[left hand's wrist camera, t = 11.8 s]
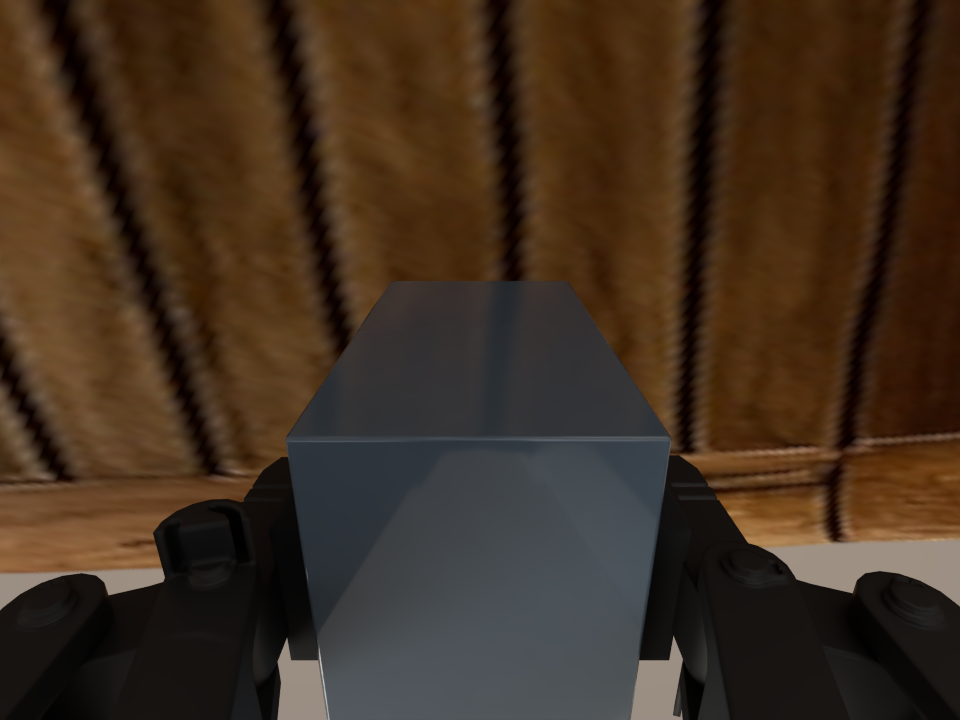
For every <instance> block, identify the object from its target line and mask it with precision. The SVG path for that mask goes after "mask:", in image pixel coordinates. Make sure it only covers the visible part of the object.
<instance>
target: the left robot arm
mask: <svg viewBox="0 0 960 720" xmlns="http://www.w3.org/2000/svg"><path fill="white" fill-rule="evenodd" d="M153 535H154V538H155V542H156V546H157V550H158V553H159V557H160V561H161V564H162V568H163V572H164V575H165V579H164V582H162V583H159V584H155V585H152V586H148V587H144V588H140V589H135V590H130V591H126V592H122V593H117V594H113V595H108V593H107V590H106V587H105V583H104V582H103V581H102V580H101V579H99V578H98V577H97V576H95V575H89V574H82V573H81V574H73V575H66V576H61V577H58V578H55V579H52V580H49V581H46V582H43V583H41V584H39V585H37V586H35V587H33V588H31V589H29V590H27V591H25V592H24V593H22V594H20V595H19V596H17V597H16V598H15V599H14V600H12V601H11V602H10V603H9V604H7V605H6V606H5V607H3V608H2V609H1V610H0V720H277V718H278V707H279V697H280V687H281V680H280V674H279V668H278V662H277V661H278V659H279V656H280V654H281V651H282V649H283V646H284V644H285V641H286V639H288V644H289V650H290V656H291V660H318V655H317V648H316V641H315V634H314V628H313V621H312V614H311V608H310V601H309V594H308V588H307V581H306V574H305V567H304V561H303V554H302V547H301V541H300V534H299V527H298V520H297V514H296V507H295V500H294V494H293V487H292V480H291V474H290V467H289V460H288V457H281V458H280V459H278V460H277V461H275V462H274V463H273V464H271V465H270V466H269V467H267V468H266V469H264V470H263V471H262V473H261V474H260V476H259V477H258V479H257V480H256V482H255V483H254V485H253V489H250V491H249V492H248V494H247V495H246V497H245V498H244V502H238V501H234V500H230V499H215V500H208V501H203V502H199V503H195V504H192V505H190V506H187V507H185V508H183V509H181V510H178V511H176V512H175V513H173V514H172V515H170V516H169V517H168V518H166V519H165V520H163V521H162V522H161V523H160V525H159V526H158V527H157V529H156V530H155V531H154V532H153ZM673 635H674V638H675V640H676V643H677V645H678V648H679V650H680V653H681V655H682V658H683V662H682V668H681V673H680V678H679V684H678V689H677V694H676V700H675V706H674V712H673V715H674V716H678V717H680V715H681V710H682V716H683V720H960V606H958V605H957V604H956V603H955V602H953V601H952V600H951V599H950V598H948V597H947V596H946V595H944V594H943V593H942V592H940V591H938V590H936V589H935V588H933V587H931V586H929V585H927V584H925V583H923V582H921V581H919V580H916V579H913V578H910V577H908V576H904V575H901V574H897V573H890V572H882V571H878V572H871V573H865V574H864V575H863V576H862V577H860V578H859V579H858V580H857V582H856V585H855V588H854V591H853V593H849V592H844V591H839V590H835V589H831V588H827V587H822V586H818V585H813V584H809V583H806V582H803V581H799V580H796V578H795V576H794V575H793V573H792V572H791V570H790V569H789V567H788V566H787V565H786V564H785V563H784V562H783V561H782V560H780V559H779V558H778V557H777V556H775V555H774V554H773V553H771V552H769V551H767V550H765V549H763V548H761V547H759V546H756V545H752V544H749V543H748V542H747V541H746V539H745V538H744V536H743V535H742V534H741V532H740V531H739V529H738V528H737V526H736V525H735V523H734V522H733V520H732V519H731V517H730V516H729V514H728V513H727V511H726V510H725V508H724V507H723V505H722V504H721V503H720V501H719V500H717V497H716V495H715V494H714V492H713V491H712V489H711V488H710V487H708V483H707V482H706V480H705V479H704V477H703V476H702V475H701V473H700V472H699V470H698V469H697V468H696V467H694V466H693V465H692V464H690V463H689V462H687V461H686V460H685V459H683V458H682V457H680V456H679V455H669V461H668V468H667V474H666V481H665V488H664V495H663V502H662V508H661V515H660V522H659V529H658V536H657V542H656V549H655V556H654V563H653V570H652V576H651V583H650V590H649V597H648V604H647V610H646V617H645V624H644V631H643V638H642V644H641V651H640V658H639V660H669V658H670V652H671V646H672V641H673Z"/></svg>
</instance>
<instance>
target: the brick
mask: <svg viewBox="0 0 960 720" xmlns="http://www.w3.org/2000/svg"><path fill="white" fill-rule="evenodd" d="M286 447H287V453H288V460H289V467H290V474H291V480H292V487H293V494H294V500H295V507H296V514H297V520H298V527H299V534H300V541H301V547H302V554H303V561H304V567H305V574H306V581H307V588H308V594H309V601H310V608H311V614H312V621H313V628H314V634H315V641H316V648H317V655H318V661H319V668H320V675H321V681H322V688H323V695H324V701H325V708H326V715H327V720H630V719H631V712H632V706H633V699H634V692H635V685H636V678H637V672H638V665H639V658H640V651H641V644H642V638H643V631H644V624H645V617H646V610H647V604H648V597H649V590H650V583H651V576H652V570H653V563H654V556H655V549H656V542H657V536H658V529H659V522H660V515H661V508H662V502H663V495H664V488H665V481H666V474H667V468H668V461H669V454H670V447H671V437H670V435H669V433H668V432H667V430H666V429H665V427H664V426H663V424H662V423H661V421H660V420H659V418H658V417H657V415H656V414H655V412H654V411H653V409H652V408H651V406H650V405H649V403H648V402H647V400H646V399H645V397H644V396H643V394H642V393H641V391H640V390H639V388H638V387H637V385H636V384H635V382H634V381H633V379H632V377H631V376H630V374H629V373H628V371H627V370H626V368H625V367H624V365H623V364H622V362H621V361H620V359H619V358H618V356H617V355H616V353H615V352H614V350H613V349H612V347H611V346H610V344H609V343H608V341H607V340H606V338H605V337H604V335H603V334H602V332H601V331H600V329H599V328H598V326H597V325H596V323H595V322H594V320H593V319H592V317H591V316H590V314H589V312H588V311H587V309H586V308H585V306H584V305H583V303H582V302H581V300H580V299H579V297H578V296H577V294H576V293H575V291H574V290H573V288H572V287H571V285H570V284H569V282H567V281H392V282H390V283H389V285H388V286H387V288H386V289H385V291H384V292H383V294H382V295H381V297H380V298H379V300H378V301H377V303H376V304H375V305H374V307H373V308H372V310H371V311H370V313H369V314H368V316H367V317H366V319H365V320H364V322H363V323H362V325H361V326H360V328H359V329H358V331H357V332H356V334H355V335H354V337H353V338H352V340H351V341H350V343H349V344H348V346H347V347H346V349H345V350H344V352H343V353H342V355H341V356H340V358H339V359H338V361H337V362H336V364H335V365H334V367H333V368H332V369H331V371H330V372H329V374H328V375H327V377H326V378H325V380H324V381H323V383H322V384H321V386H320V387H319V389H318V390H317V392H316V393H315V395H314V396H313V398H312V399H311V401H310V402H309V404H308V405H307V407H306V408H305V410H304V411H303V413H302V414H301V416H300V417H299V419H298V420H297V422H296V423H295V425H294V426H293V428H292V429H291V431H290V432H289V434H288V435H287V437H286Z"/></svg>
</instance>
